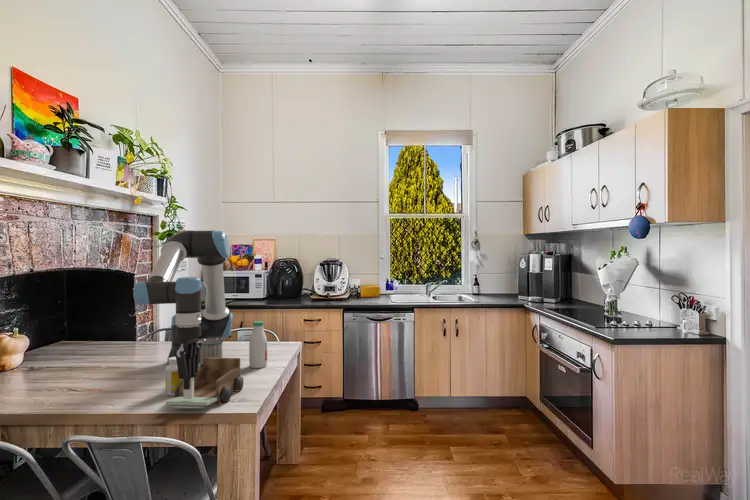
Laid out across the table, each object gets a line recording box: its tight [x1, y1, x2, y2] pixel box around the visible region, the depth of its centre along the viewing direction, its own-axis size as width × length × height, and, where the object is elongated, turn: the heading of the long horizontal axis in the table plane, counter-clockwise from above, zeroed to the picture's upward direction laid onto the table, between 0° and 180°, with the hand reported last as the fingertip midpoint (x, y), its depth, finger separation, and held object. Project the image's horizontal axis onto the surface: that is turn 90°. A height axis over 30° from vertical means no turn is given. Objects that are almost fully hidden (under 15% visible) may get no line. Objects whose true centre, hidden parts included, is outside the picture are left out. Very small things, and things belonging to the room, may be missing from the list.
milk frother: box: [198, 338, 224, 369], centre depth 171 cm, size 14×16×15 cm
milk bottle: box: [248, 320, 268, 369], centre depth 187 cm, size 8×8×20 cm
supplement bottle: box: [164, 357, 180, 397], centre depth 152 cm, size 7×7×13 cm
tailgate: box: [165, 397, 217, 407], centre depth 136 cm, size 14×2×7 cm
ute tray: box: [174, 357, 245, 405], centre depth 150 cm, size 18×18×11 cm
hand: (188, 398), depth 134 cm, fingers closed
